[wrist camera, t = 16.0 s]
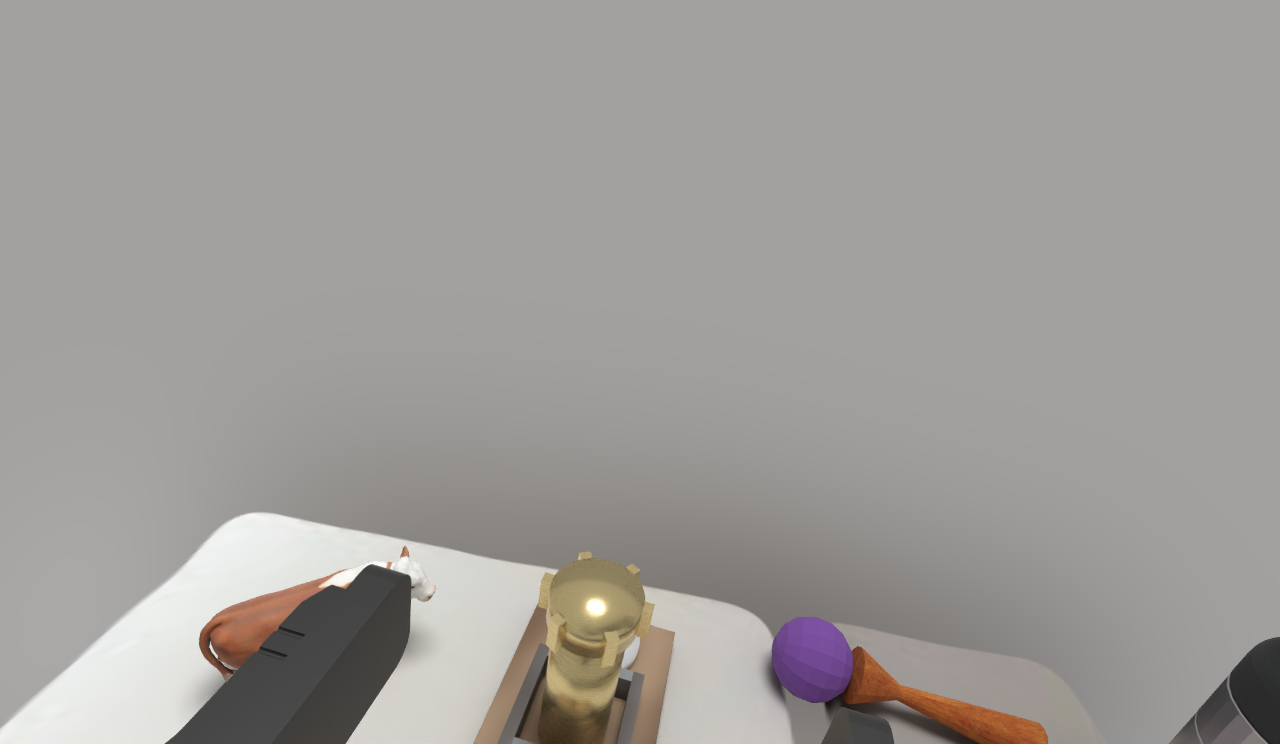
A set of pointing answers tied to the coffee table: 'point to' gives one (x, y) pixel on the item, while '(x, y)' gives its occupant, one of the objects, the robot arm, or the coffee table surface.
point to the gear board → (637, 700)
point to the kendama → (879, 684)
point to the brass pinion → (587, 645)
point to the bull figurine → (284, 613)
